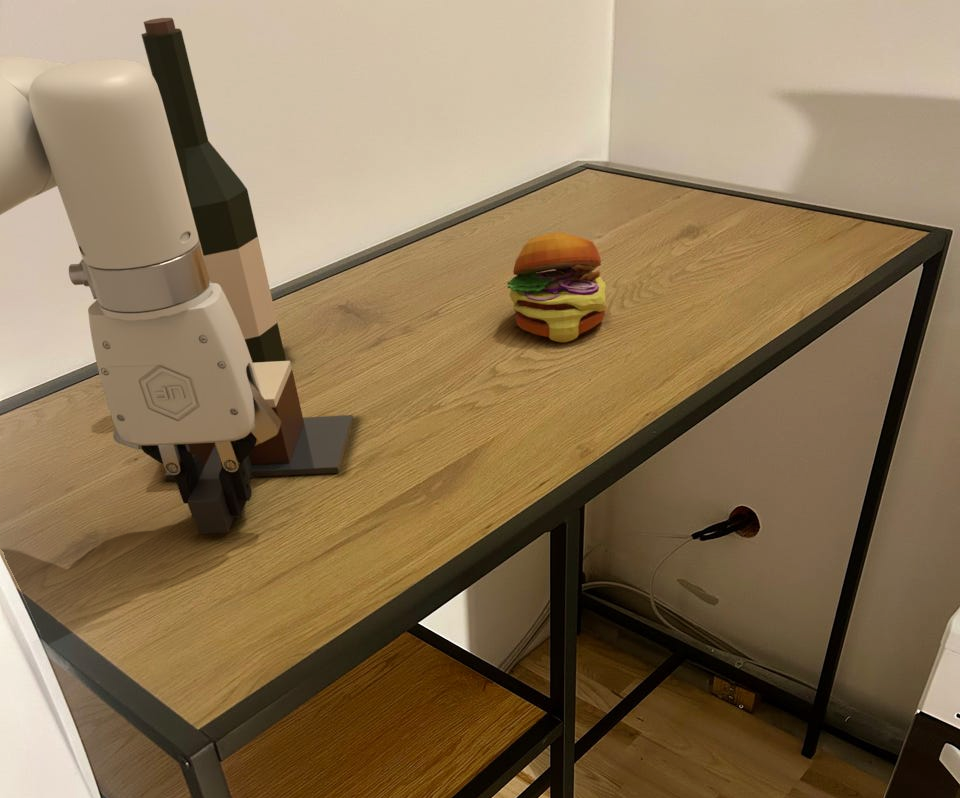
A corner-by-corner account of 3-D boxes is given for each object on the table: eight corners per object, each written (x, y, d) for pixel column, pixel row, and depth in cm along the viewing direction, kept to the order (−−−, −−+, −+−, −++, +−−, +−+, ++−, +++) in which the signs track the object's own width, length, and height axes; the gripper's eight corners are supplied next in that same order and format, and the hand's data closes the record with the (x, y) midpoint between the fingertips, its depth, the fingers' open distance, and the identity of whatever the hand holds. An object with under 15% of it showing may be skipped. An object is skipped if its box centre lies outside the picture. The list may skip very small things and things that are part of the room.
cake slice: (249, 465, 81) (231, 400, 77) (266, 424, 86) (250, 362, 82) (289, 463, 81) (274, 398, 77) (304, 422, 86) (290, 360, 82)
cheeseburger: (513, 349, 95) (504, 242, 90) (509, 331, 104) (501, 233, 100) (614, 339, 95) (611, 230, 90) (602, 321, 104) (598, 222, 99)
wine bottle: (278, 380, 94) (195, 25, 74) (196, 385, 95) (92, 34, 75) (293, 344, 101) (219, 7, 81) (216, 349, 101) (124, 16, 81)
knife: (228, 532, 74) (218, 500, 72) (198, 534, 74) (187, 501, 72) (274, 418, 87) (267, 388, 85) (248, 420, 87) (240, 390, 85)
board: (166, 481, 81) (164, 475, 81) (194, 428, 88) (192, 422, 88) (338, 473, 80) (337, 467, 80) (353, 420, 87) (352, 414, 87)
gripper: (12, 307, 61) (108, 539, 74) (256, 291, 60) (312, 531, 72) (55, 264, 67) (138, 486, 79) (279, 249, 66) (328, 478, 78)
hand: (220, 506), depth 76 cm, fingers closed on knife, 2 cm apart
